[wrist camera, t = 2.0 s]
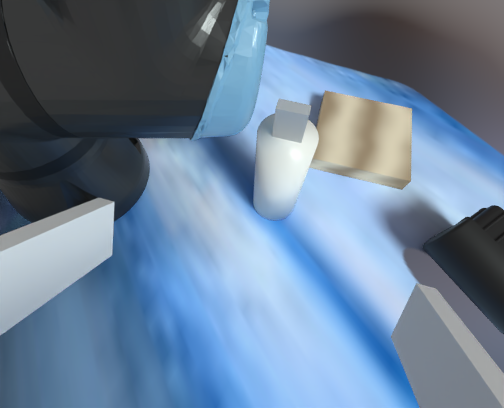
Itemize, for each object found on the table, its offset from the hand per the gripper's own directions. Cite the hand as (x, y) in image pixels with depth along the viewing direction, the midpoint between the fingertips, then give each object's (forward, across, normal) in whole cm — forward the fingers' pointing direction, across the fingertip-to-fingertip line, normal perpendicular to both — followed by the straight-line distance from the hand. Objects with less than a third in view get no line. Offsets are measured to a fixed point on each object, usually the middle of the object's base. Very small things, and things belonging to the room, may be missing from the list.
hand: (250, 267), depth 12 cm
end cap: (+19, +22, -6) cm, 30 cm away
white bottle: (+21, 0, -4) cm, 21 cm away
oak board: (+30, +9, +5) cm, 31 cm away
